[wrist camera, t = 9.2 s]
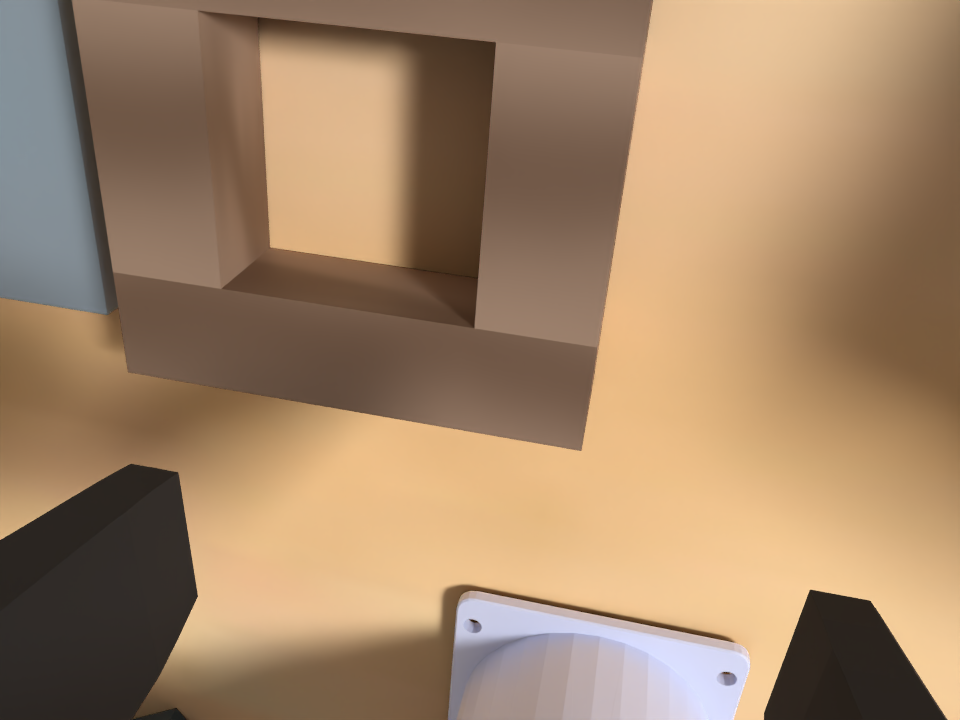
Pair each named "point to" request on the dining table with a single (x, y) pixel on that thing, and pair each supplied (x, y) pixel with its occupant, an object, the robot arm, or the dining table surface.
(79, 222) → the rubber mat
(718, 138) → the dining table surface
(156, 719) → the watch
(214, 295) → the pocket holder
